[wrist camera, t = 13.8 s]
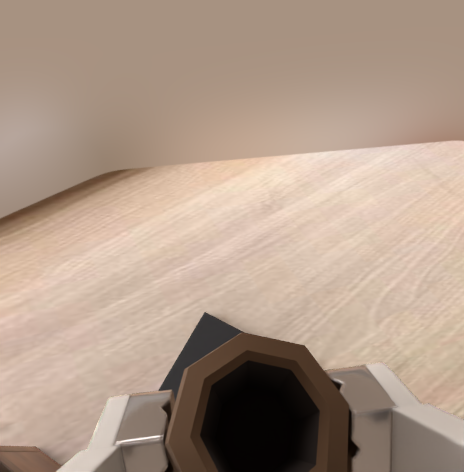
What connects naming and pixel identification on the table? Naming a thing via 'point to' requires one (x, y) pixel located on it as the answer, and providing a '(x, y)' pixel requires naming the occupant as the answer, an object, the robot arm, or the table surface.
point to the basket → (25, 460)
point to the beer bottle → (258, 412)
